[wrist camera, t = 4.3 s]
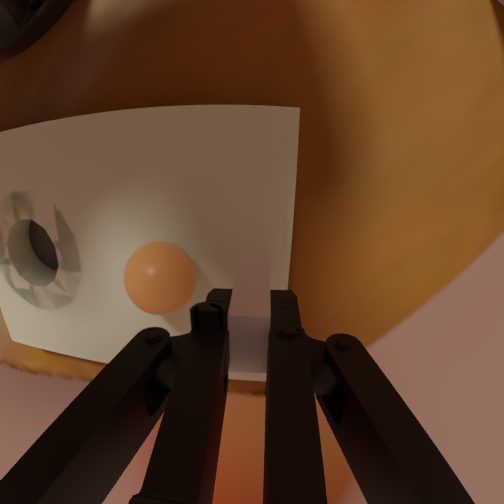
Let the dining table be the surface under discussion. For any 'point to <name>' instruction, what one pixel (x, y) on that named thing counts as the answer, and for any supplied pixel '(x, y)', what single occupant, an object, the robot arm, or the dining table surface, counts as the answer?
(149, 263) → the ball
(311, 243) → the dining table surface
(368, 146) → the dining table surface
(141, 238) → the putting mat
